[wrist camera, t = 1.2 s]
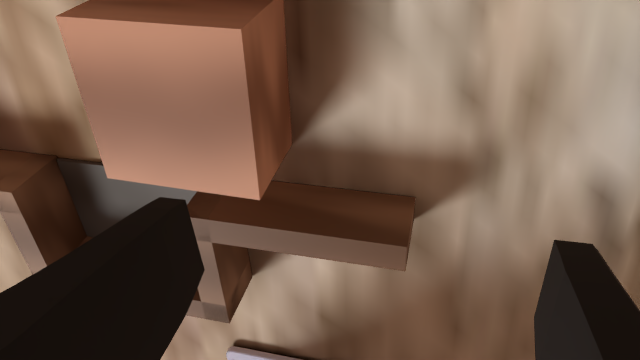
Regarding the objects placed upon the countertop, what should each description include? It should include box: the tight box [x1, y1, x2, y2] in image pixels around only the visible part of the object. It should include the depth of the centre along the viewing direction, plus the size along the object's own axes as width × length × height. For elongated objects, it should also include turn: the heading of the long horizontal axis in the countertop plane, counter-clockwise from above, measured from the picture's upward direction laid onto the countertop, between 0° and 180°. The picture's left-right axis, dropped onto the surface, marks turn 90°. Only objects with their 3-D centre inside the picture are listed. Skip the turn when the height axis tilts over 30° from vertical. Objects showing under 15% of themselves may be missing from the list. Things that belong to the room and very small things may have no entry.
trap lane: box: [0, 150, 415, 323], centre depth 20 cm, size 22×29×4 cm
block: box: [56, 0, 292, 200], centre depth 18 cm, size 6×6×4 cm
